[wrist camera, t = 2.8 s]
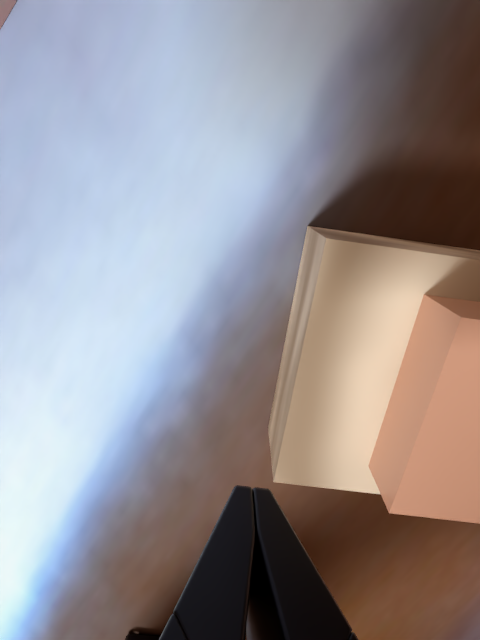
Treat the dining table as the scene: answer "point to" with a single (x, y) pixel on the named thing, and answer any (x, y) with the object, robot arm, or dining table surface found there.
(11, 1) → the greeting card
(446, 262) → the birch step
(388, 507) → the pink block
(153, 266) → the dining table surface
